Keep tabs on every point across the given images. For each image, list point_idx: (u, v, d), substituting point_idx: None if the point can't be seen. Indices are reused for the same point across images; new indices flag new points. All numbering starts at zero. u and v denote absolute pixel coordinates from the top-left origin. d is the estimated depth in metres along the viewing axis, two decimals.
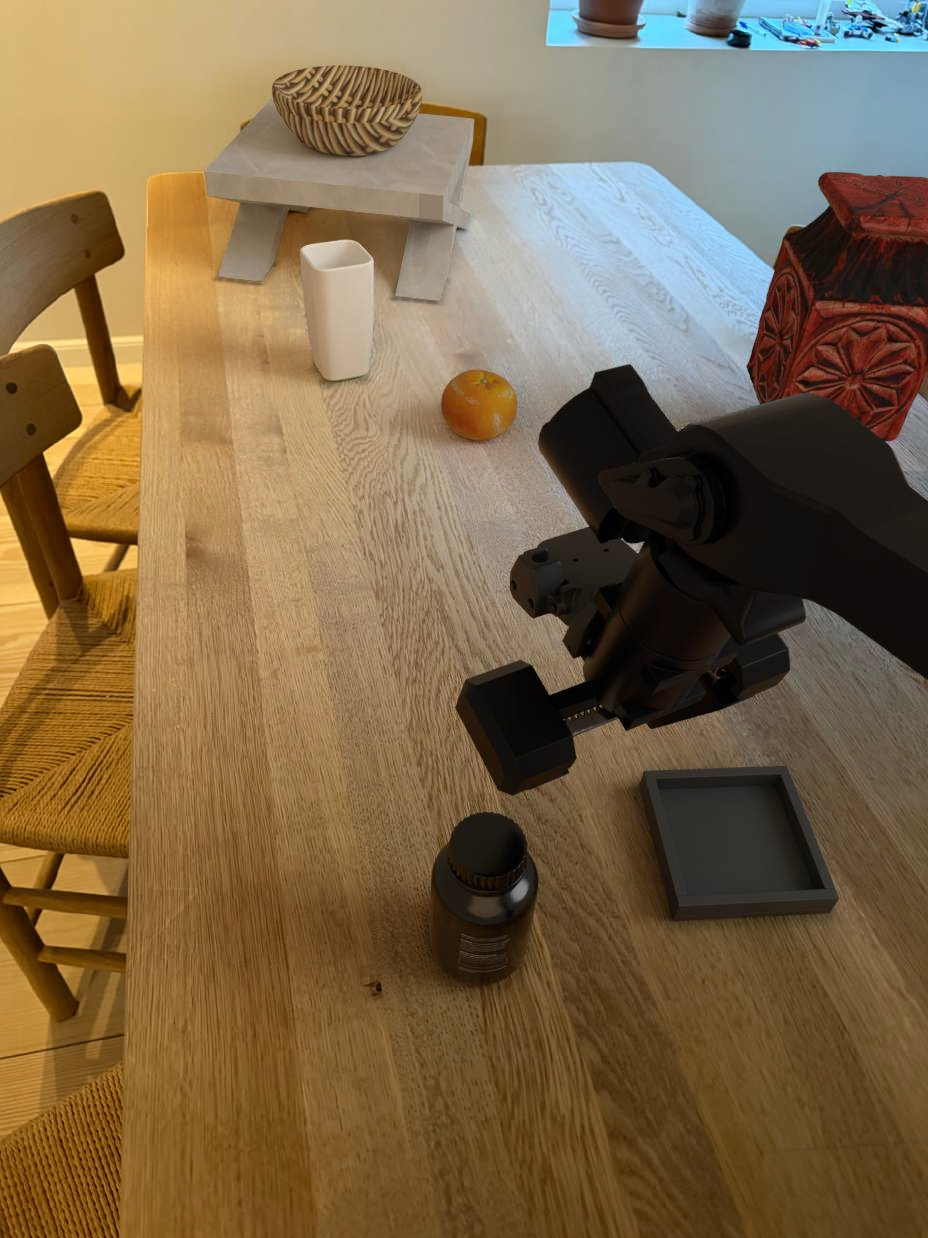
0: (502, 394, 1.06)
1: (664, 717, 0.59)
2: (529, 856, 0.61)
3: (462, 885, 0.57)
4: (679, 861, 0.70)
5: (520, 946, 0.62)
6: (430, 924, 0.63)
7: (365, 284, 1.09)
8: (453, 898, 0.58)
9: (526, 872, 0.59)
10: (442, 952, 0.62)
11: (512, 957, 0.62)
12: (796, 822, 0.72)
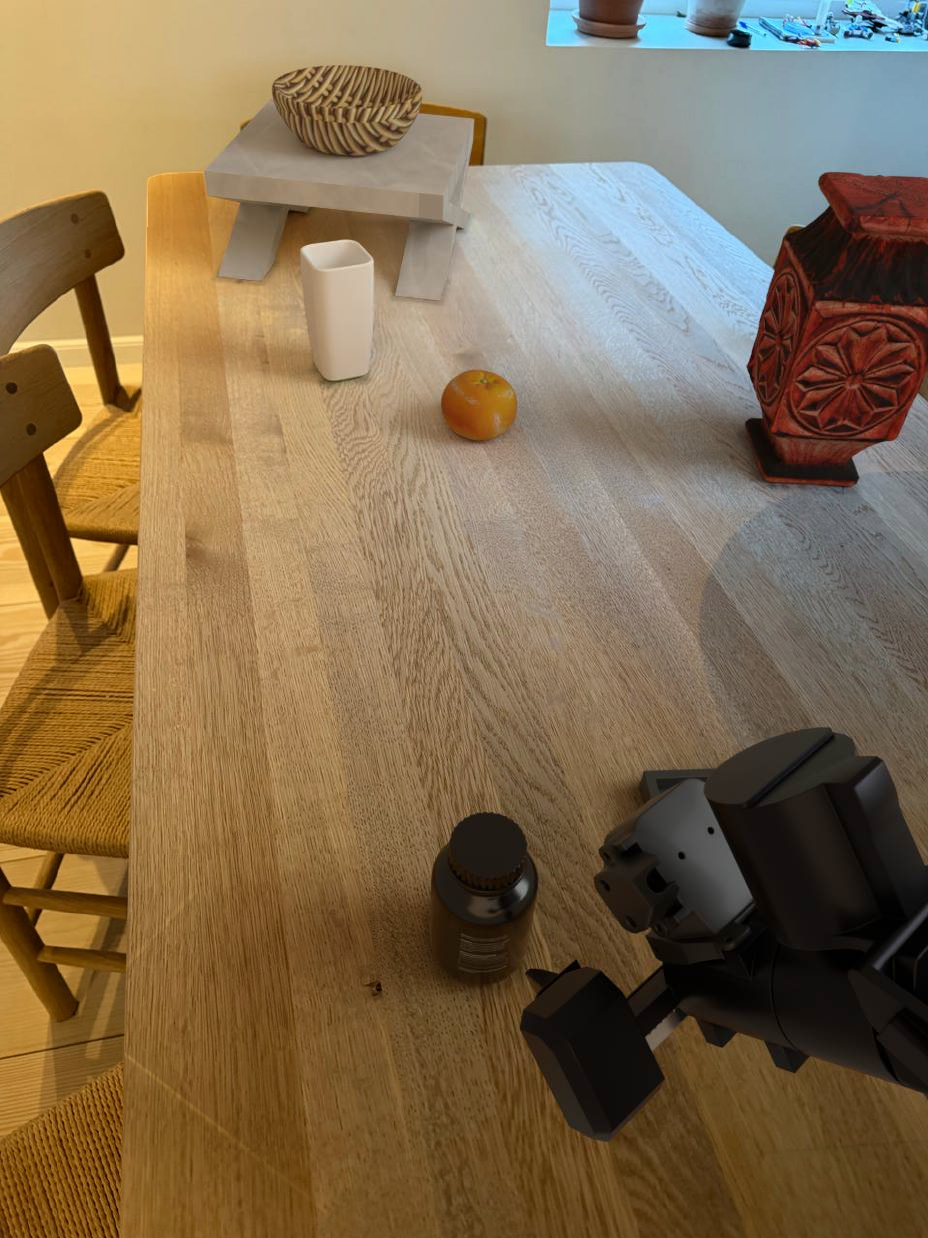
0: (502, 394, 1.06)
1: None
2: (529, 856, 0.61)
3: (462, 885, 0.57)
4: None
5: (520, 946, 0.62)
6: (430, 924, 0.63)
7: (365, 284, 1.09)
8: (453, 898, 0.58)
9: (526, 872, 0.59)
10: (442, 952, 0.62)
11: (512, 957, 0.62)
12: None
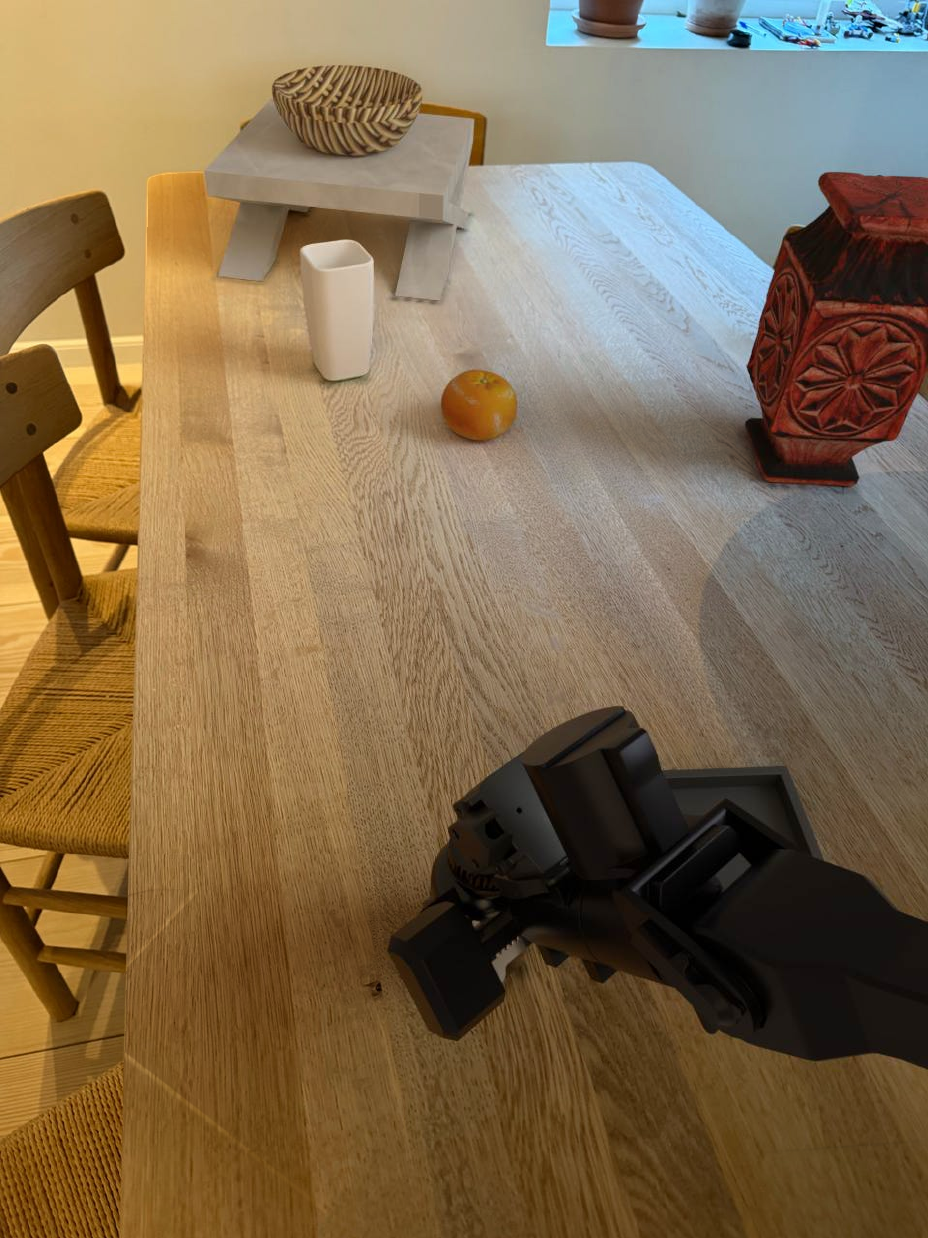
0: (502, 394, 1.06)
1: None
2: None
3: (461, 885, 0.57)
4: None
5: None
6: None
7: (365, 284, 1.09)
8: None
9: None
10: None
11: None
12: (796, 822, 0.72)
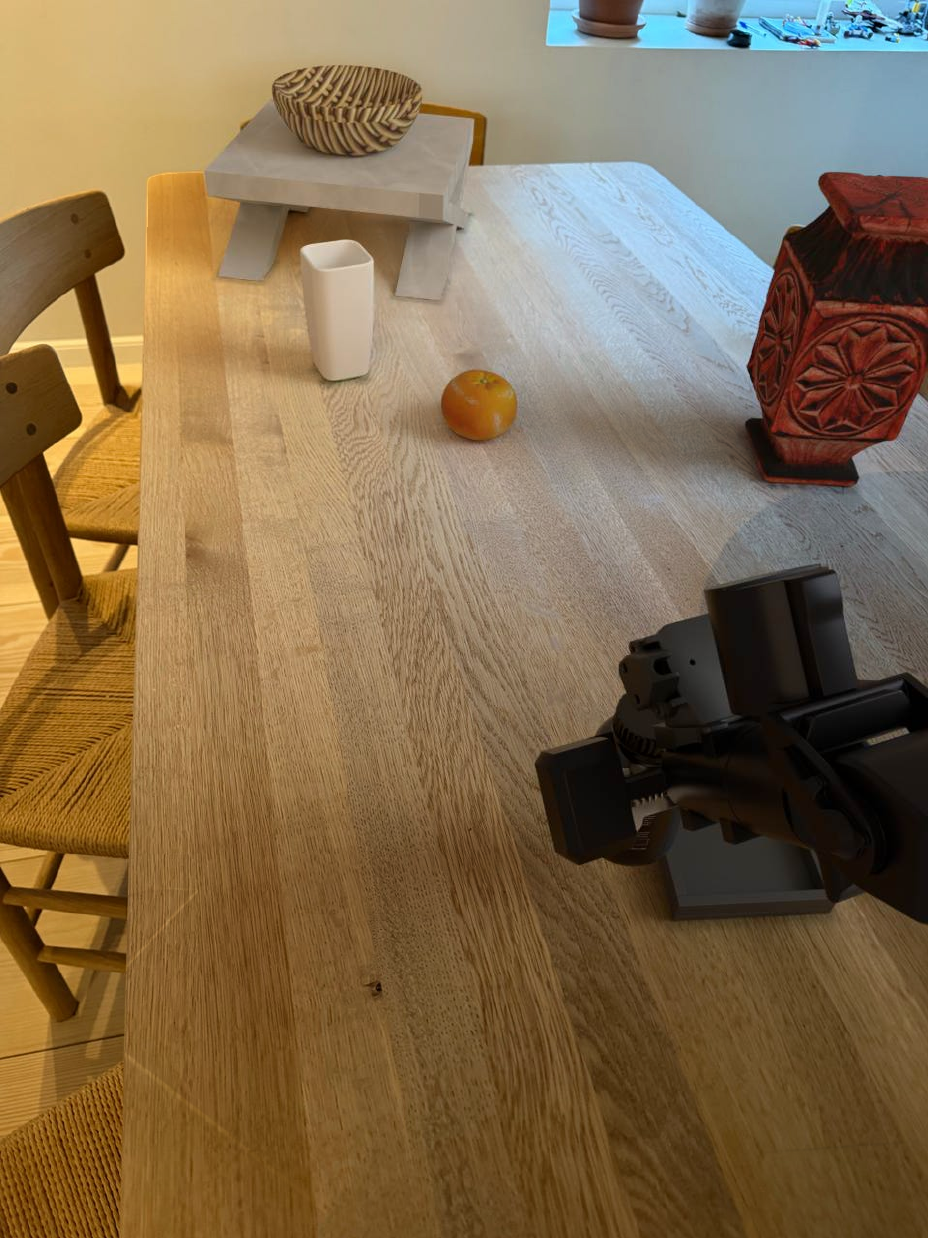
0: (502, 394, 1.06)
1: None
2: None
3: (620, 744, 0.58)
4: (679, 861, 0.70)
5: (664, 832, 0.62)
6: None
7: (365, 284, 1.09)
8: None
9: None
10: None
11: (654, 841, 0.62)
12: None
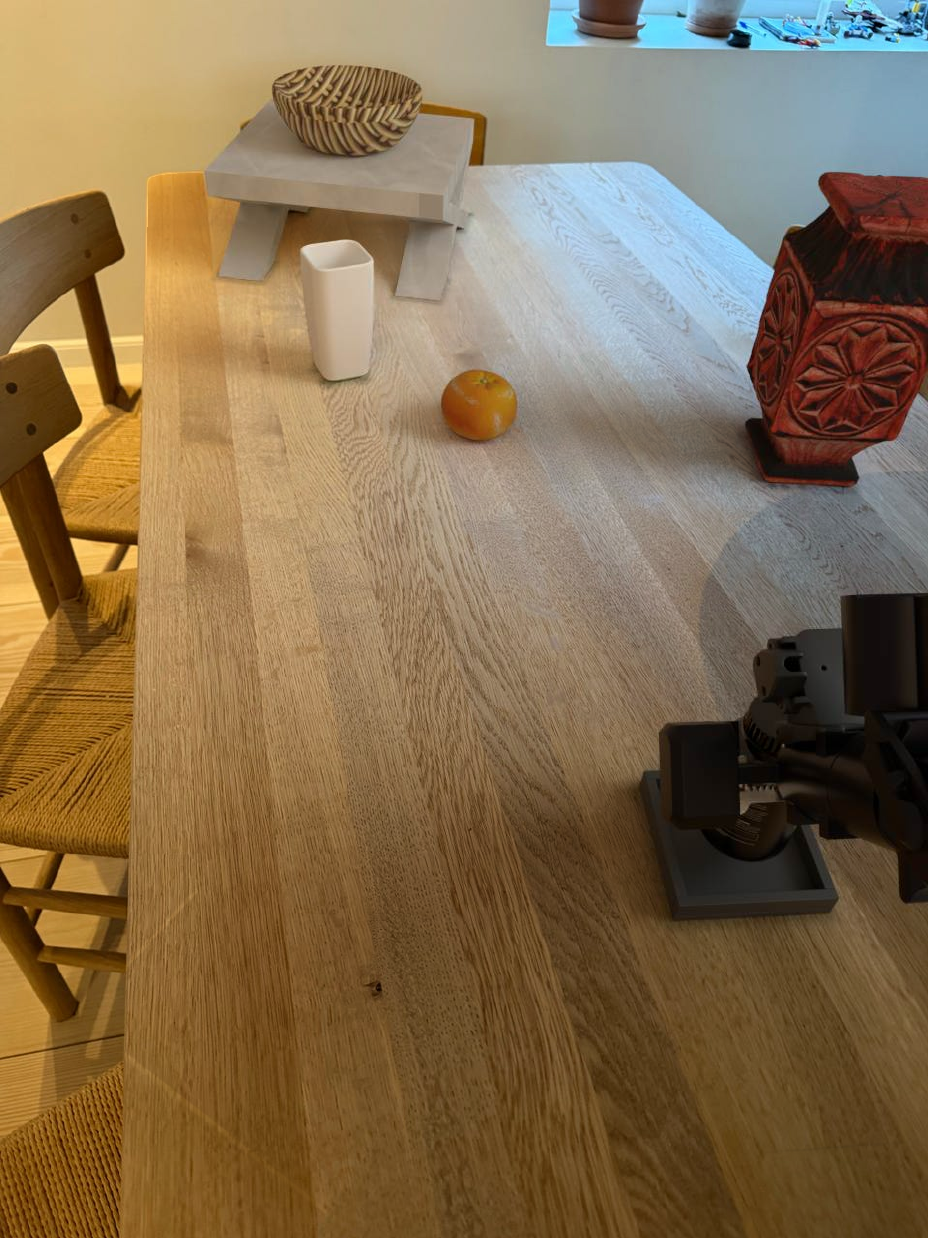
0: (502, 394, 1.06)
1: None
2: None
3: (746, 738, 0.62)
4: (679, 861, 0.70)
5: (775, 833, 0.65)
6: None
7: (365, 284, 1.09)
8: None
9: None
10: None
11: (763, 839, 0.65)
12: None
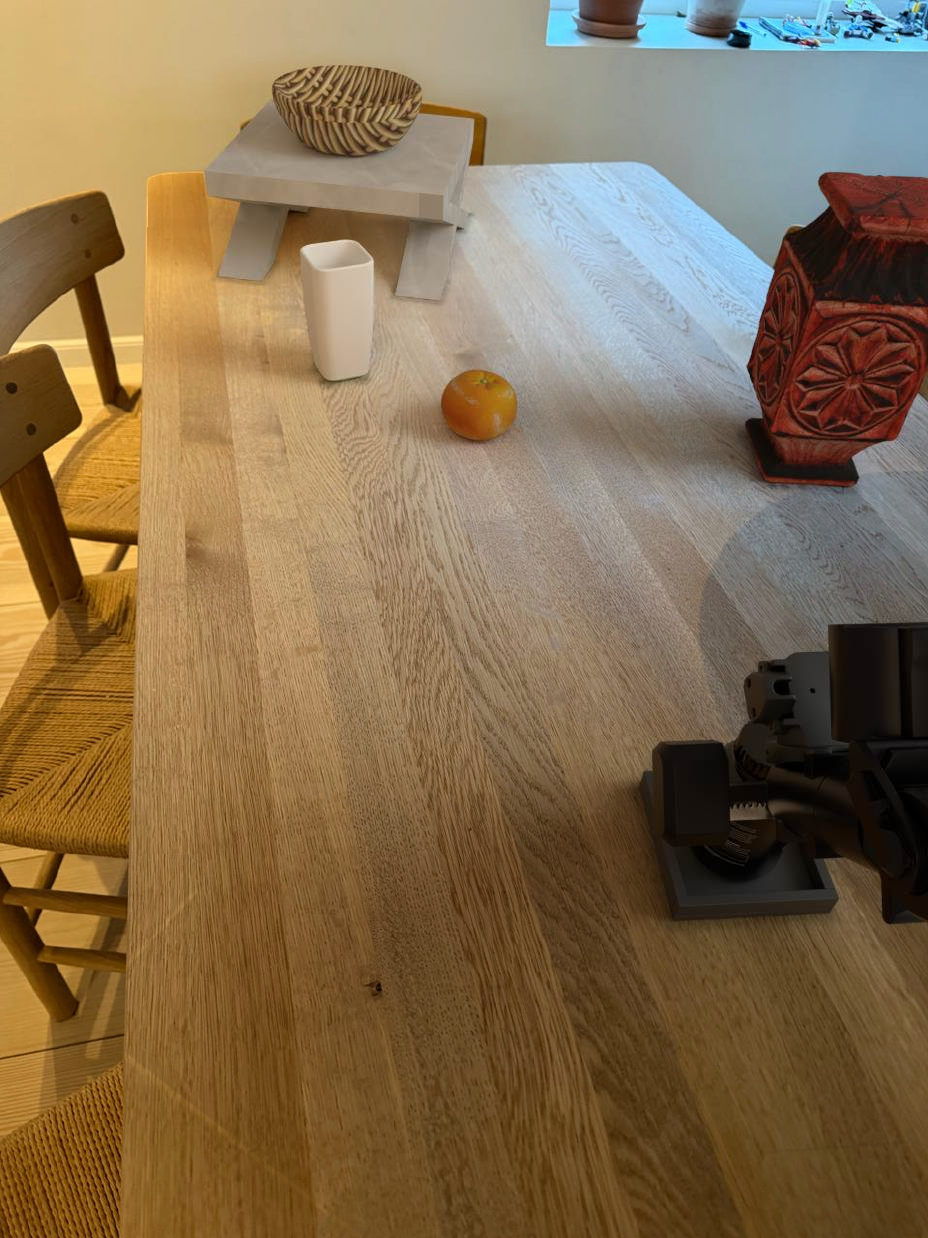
0: (502, 394, 1.06)
1: None
2: None
3: (736, 764, 0.64)
4: (679, 861, 0.70)
5: (764, 855, 0.67)
6: None
7: (365, 284, 1.09)
8: None
9: None
10: None
11: (753, 860, 0.67)
12: None
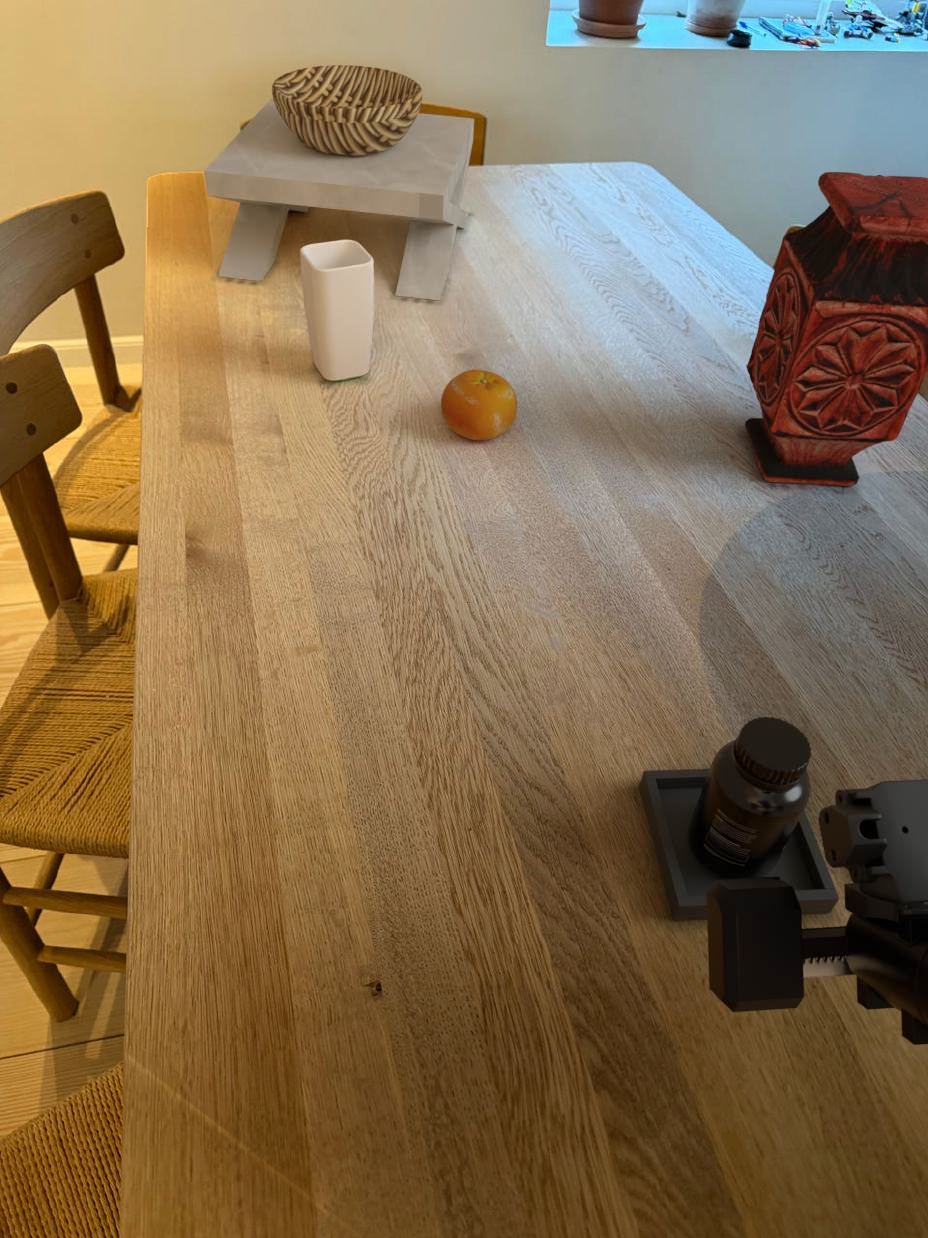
0: (502, 394, 1.06)
1: None
2: (808, 781, 0.65)
3: (737, 764, 0.64)
4: (679, 861, 0.70)
5: (764, 855, 0.67)
6: None
7: (365, 284, 1.09)
8: (724, 774, 0.65)
9: (798, 788, 0.64)
10: (696, 826, 0.69)
11: (753, 860, 0.67)
12: None
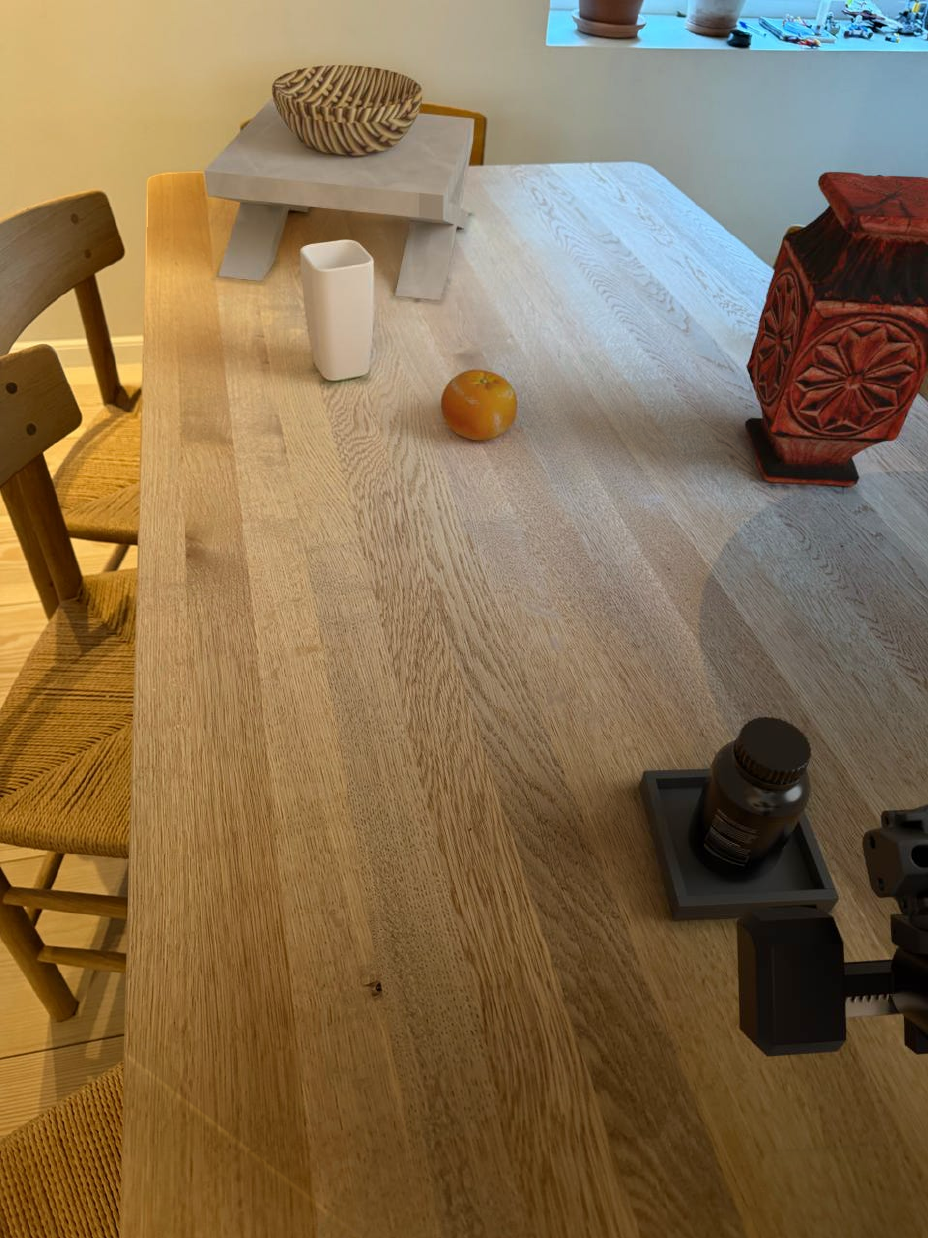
0: (502, 394, 1.06)
1: None
2: (808, 781, 0.65)
3: (737, 764, 0.64)
4: (679, 861, 0.70)
5: (764, 855, 0.67)
6: None
7: (365, 284, 1.09)
8: (724, 774, 0.65)
9: (798, 788, 0.64)
10: (696, 826, 0.69)
11: (753, 860, 0.67)
12: None
